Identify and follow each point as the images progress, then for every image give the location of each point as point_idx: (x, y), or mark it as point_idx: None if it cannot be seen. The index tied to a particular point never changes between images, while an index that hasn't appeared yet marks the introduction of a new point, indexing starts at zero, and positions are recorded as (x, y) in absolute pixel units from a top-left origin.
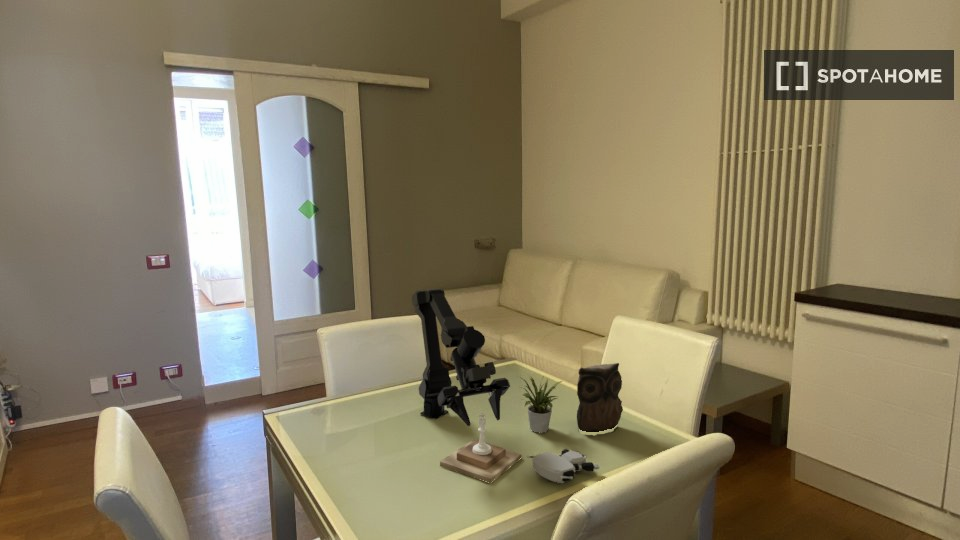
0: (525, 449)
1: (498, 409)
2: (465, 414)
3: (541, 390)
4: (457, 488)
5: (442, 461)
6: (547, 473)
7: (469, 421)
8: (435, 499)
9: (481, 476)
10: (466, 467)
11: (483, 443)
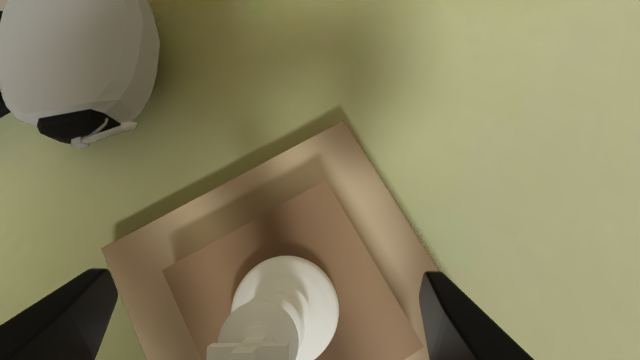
0: None
1: (4, 335)
2: (508, 351)
3: None
4: (469, 152)
5: None
6: (143, 1)
7: (439, 288)
8: (565, 122)
9: (365, 156)
10: (398, 246)
11: (282, 294)
